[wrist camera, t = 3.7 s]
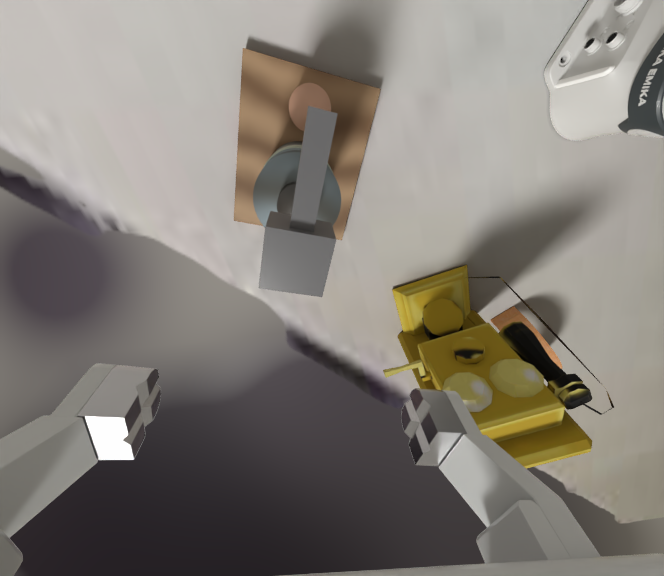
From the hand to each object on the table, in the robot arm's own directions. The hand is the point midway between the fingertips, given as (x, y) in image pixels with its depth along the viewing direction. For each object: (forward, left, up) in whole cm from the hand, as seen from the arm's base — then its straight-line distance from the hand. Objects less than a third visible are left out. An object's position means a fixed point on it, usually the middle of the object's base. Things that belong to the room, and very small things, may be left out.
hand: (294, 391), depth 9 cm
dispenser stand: (-2, 0, -41) cm, 41 cm away
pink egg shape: (-9, 0, -39) cm, 40 cm away
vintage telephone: (+19, +33, -41) cm, 56 cm away
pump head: (-3, 0, -17) cm, 17 cm away
